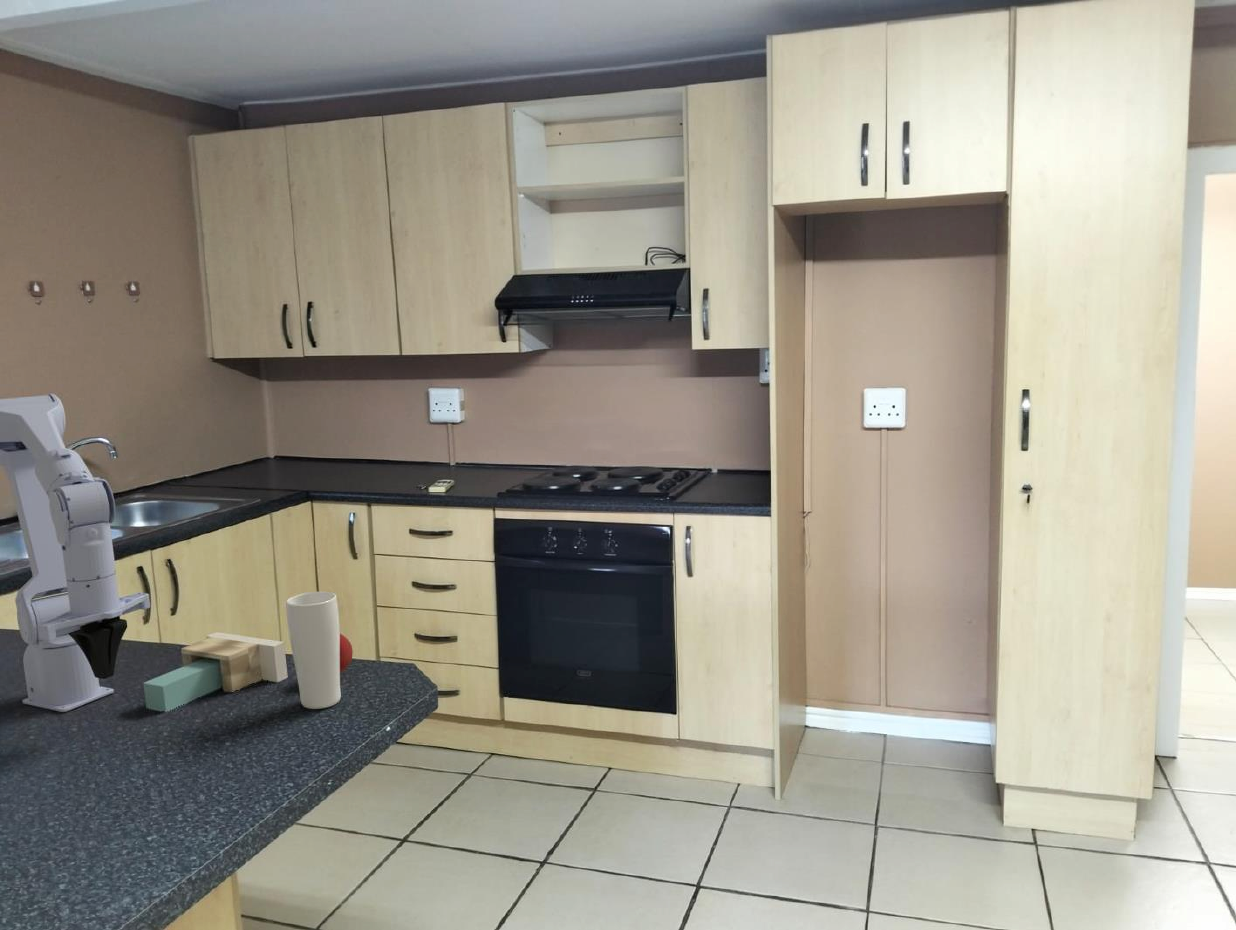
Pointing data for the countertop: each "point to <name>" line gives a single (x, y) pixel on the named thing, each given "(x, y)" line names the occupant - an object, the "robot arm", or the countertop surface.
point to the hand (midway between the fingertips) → (104, 676)
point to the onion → (345, 653)
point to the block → (228, 660)
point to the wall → (264, 655)
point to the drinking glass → (315, 647)
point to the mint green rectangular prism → (183, 684)
